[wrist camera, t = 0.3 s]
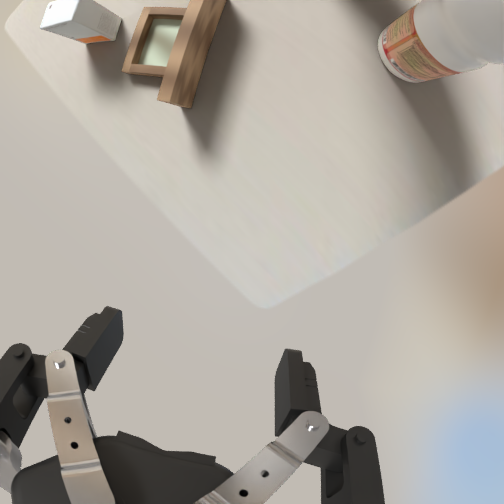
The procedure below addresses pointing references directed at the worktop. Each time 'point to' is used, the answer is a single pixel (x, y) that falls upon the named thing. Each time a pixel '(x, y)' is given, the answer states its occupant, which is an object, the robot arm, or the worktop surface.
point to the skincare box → (81, 21)
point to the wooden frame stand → (174, 47)
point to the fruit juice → (443, 39)
